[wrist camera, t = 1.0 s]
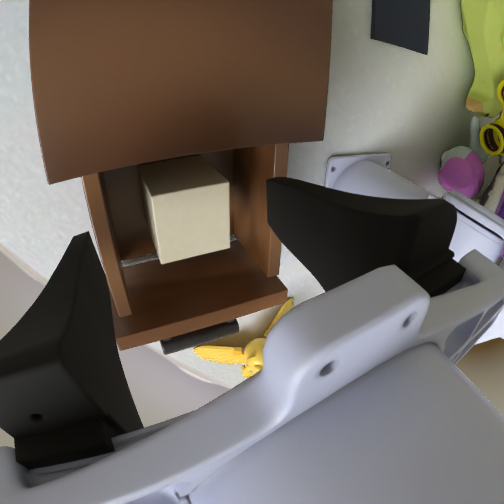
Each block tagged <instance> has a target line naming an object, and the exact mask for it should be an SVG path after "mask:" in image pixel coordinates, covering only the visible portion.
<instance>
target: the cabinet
mask: <svg viewBox="0 0 504 504" xmlns="http://www.w3.org/2000/svg"><path fill="white" fill-rule="evenodd" d="M332 7H333V0H29V50H30V68H31V81H32V91H33V100H34V108H35V116H36V123H37V129H38V135H39V141H40V147H41V152H42V157H43V162H44V167H45V172H46V176H47V181H48V184H49V185H50V184H54V183H58V182H61V181H65V180H69V179H73V178H77V177H81V176H85V175H90V174H94V173H98V172H103V171H107V170H112V169H116V168H121V167H126V166H131V165H136V164H141V163H146V162H152V161H157V160H163V159H168V158H174V157H180V156H187V155H193V154H200V153H207V152H214V151H221V150H229V149H237V148H246V147H255V146H265V145H275V144H287V143H299V142H314V141H323V140H324V129H325V119H326V107H327V95H328V82H329V67H330V51H331V32H332Z"/></svg>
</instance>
